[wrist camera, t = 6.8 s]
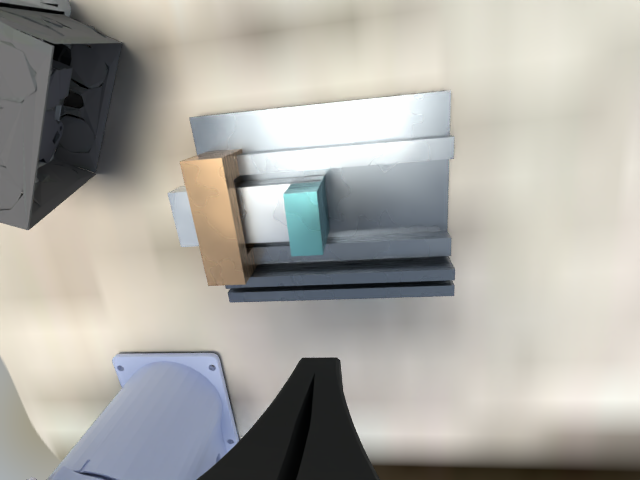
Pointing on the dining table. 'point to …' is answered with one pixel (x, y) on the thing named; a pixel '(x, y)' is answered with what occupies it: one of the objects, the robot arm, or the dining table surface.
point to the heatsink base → (330, 197)
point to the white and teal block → (270, 213)
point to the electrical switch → (49, 106)
